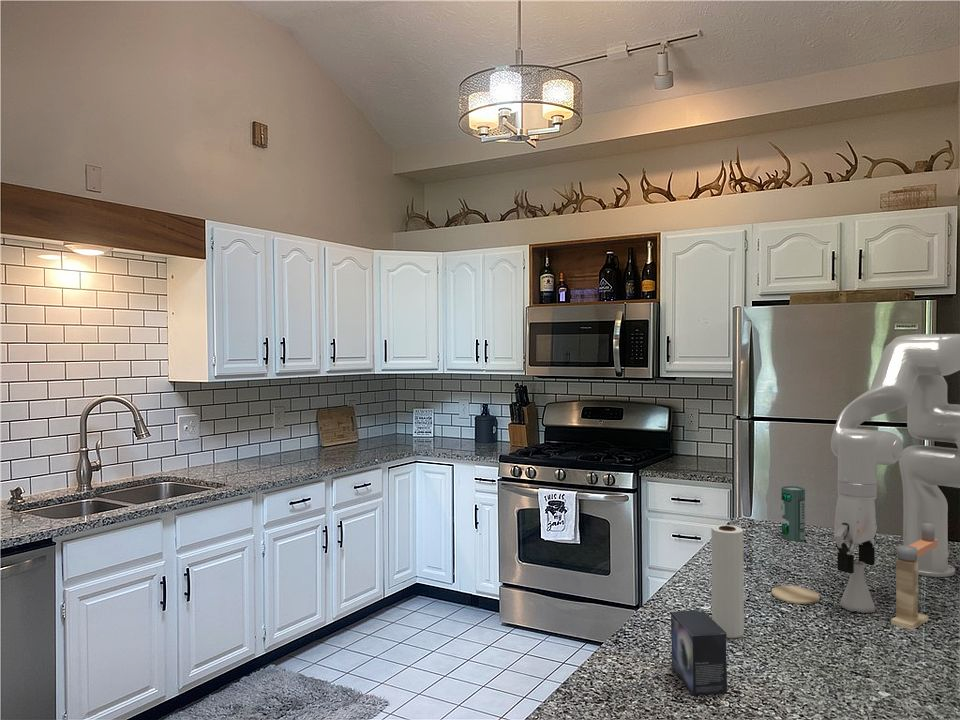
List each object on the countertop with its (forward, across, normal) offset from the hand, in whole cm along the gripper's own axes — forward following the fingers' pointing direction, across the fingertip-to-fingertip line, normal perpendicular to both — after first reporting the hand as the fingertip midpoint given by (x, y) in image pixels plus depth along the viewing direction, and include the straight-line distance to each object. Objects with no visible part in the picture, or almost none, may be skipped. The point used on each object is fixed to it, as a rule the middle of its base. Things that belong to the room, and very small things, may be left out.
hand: (856, 567), depth 153 cm
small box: (+11, +54, -2) cm, 55 cm away
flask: (+9, -1, 0) cm, 9 cm away
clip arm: (-5, -7, +10) cm, 13 cm away
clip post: (+9, -1, +10) cm, 13 cm away
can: (+8, -42, -37) cm, 56 cm away
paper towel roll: (+10, +32, -10) cm, 35 cm away
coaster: (+9, +3, -12) cm, 15 cm away
